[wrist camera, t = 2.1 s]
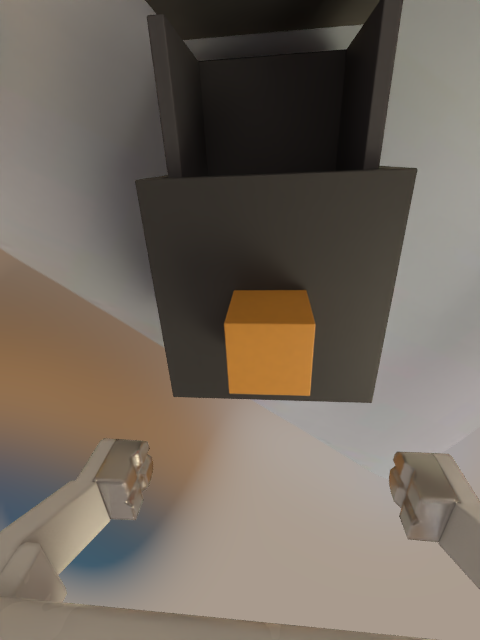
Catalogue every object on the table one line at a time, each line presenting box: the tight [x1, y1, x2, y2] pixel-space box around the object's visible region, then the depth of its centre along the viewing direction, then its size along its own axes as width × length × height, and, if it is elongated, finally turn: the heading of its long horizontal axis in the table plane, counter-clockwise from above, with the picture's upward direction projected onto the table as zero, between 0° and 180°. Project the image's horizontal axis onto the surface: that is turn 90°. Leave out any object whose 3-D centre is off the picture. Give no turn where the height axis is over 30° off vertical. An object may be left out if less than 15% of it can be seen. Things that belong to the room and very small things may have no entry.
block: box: [224, 290, 315, 396], centre depth 17 cm, size 4×4×4 cm
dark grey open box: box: [135, 166, 417, 403], centre depth 23 cm, size 14×14×11 cm
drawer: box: [145, 0, 403, 178], centre depth 18 cm, size 17×13×9 cm
